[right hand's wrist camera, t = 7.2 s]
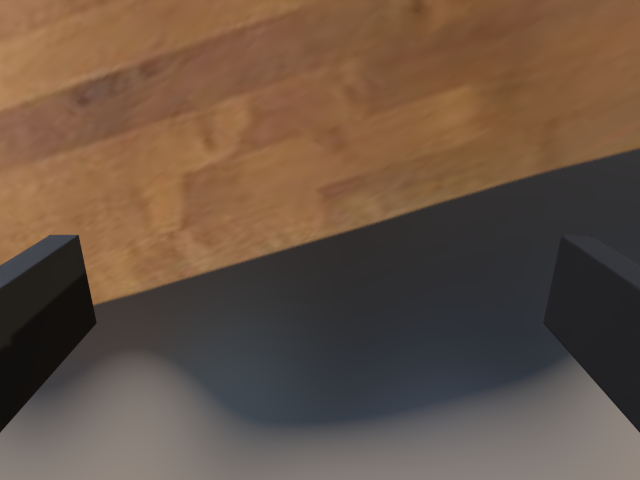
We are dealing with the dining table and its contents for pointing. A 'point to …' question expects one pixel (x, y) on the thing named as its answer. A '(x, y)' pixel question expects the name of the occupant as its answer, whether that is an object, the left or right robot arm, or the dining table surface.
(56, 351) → the right robot arm
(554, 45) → the dining table surface
